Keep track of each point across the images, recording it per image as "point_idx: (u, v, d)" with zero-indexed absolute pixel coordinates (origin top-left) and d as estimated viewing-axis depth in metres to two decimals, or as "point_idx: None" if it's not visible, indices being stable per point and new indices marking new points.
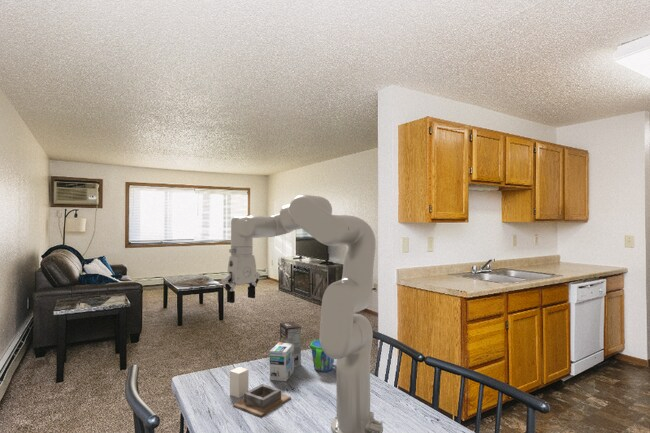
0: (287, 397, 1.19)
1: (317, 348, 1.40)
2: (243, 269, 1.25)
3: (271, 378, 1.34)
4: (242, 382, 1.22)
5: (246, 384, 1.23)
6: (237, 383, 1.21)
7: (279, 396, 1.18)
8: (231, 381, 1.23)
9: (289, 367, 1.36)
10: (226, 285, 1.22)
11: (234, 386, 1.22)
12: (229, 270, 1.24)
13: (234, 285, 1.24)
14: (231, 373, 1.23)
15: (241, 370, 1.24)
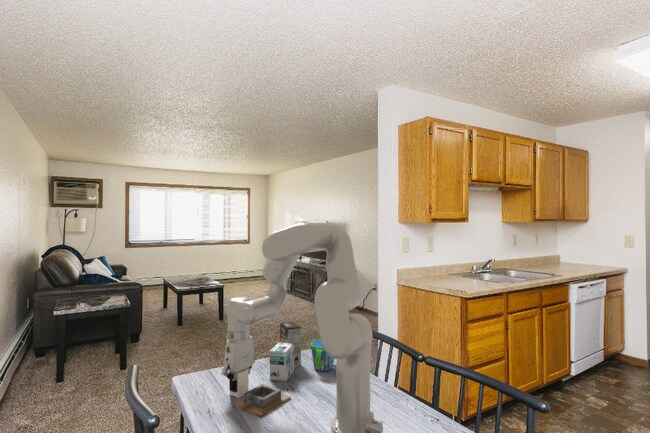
0: (287, 397, 1.19)
1: (317, 348, 1.40)
2: (241, 355, 1.21)
3: (271, 378, 1.34)
4: (242, 382, 1.22)
5: (246, 384, 1.23)
6: (237, 383, 1.21)
7: (279, 396, 1.18)
8: None
9: (289, 367, 1.36)
10: (228, 376, 1.19)
11: None
12: (226, 356, 1.20)
13: (235, 373, 1.21)
14: None
15: (241, 370, 1.24)
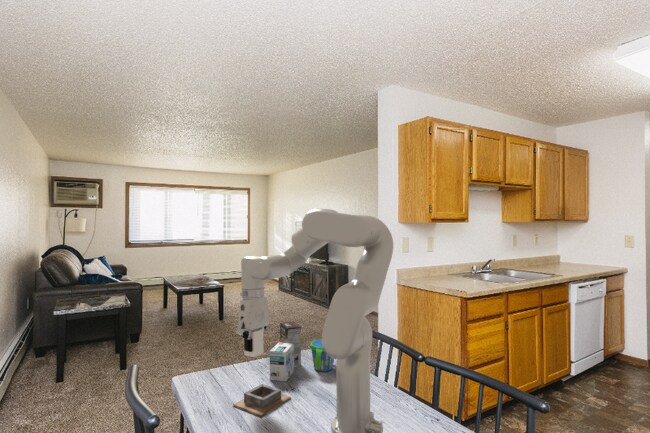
0: (287, 397, 1.19)
1: (317, 348, 1.40)
2: (255, 313, 1.18)
3: (271, 378, 1.34)
4: (257, 341, 1.19)
5: (261, 344, 1.20)
6: (252, 342, 1.17)
7: (279, 396, 1.18)
8: None
9: (289, 367, 1.36)
10: (243, 334, 1.16)
11: None
12: (241, 314, 1.17)
13: (250, 332, 1.17)
14: None
15: (256, 329, 1.20)
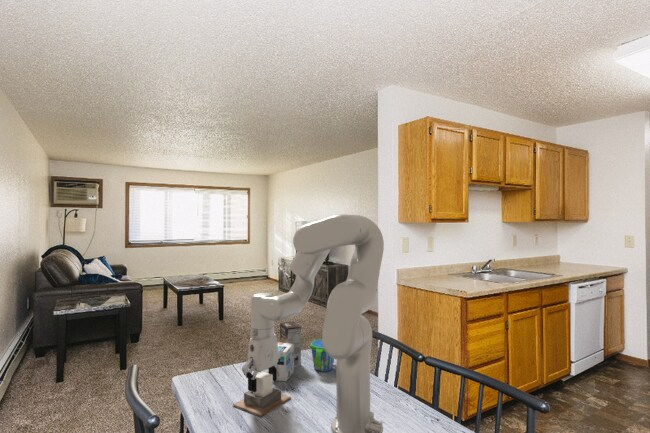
0: (287, 397, 1.19)
1: (317, 348, 1.40)
2: (265, 353, 1.15)
3: None
4: (266, 388, 1.16)
5: (270, 390, 1.17)
6: (261, 389, 1.15)
7: (279, 396, 1.18)
8: None
9: (289, 367, 1.36)
10: (247, 374, 1.11)
11: (258, 392, 1.16)
12: (250, 355, 1.14)
13: (256, 372, 1.13)
14: (255, 378, 1.17)
15: (265, 375, 1.17)
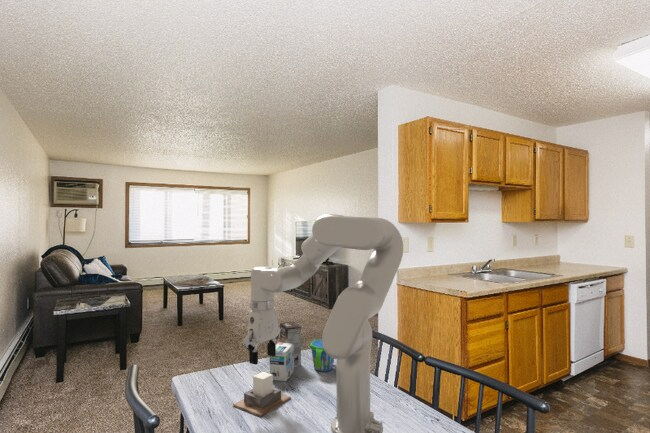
0: (287, 397, 1.19)
1: (317, 348, 1.40)
2: (265, 325, 1.15)
3: None
4: (266, 388, 1.16)
5: (270, 390, 1.17)
6: (261, 389, 1.15)
7: (279, 396, 1.18)
8: (255, 387, 1.16)
9: (289, 367, 1.36)
10: (249, 346, 1.12)
11: (258, 392, 1.16)
12: (250, 327, 1.14)
13: (257, 344, 1.14)
14: (255, 378, 1.17)
15: (265, 375, 1.17)
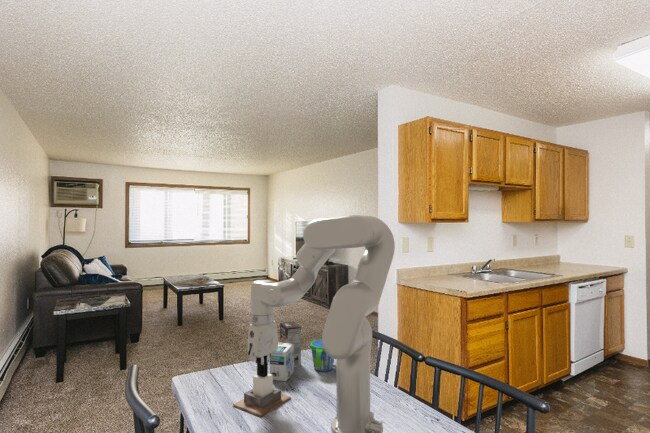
0: (287, 397, 1.19)
1: (317, 348, 1.40)
2: (265, 339, 1.15)
3: None
4: (266, 388, 1.16)
5: (270, 390, 1.17)
6: (261, 389, 1.15)
7: (279, 396, 1.18)
8: (255, 387, 1.16)
9: (289, 367, 1.36)
10: (257, 360, 1.15)
11: (258, 392, 1.16)
12: (250, 341, 1.14)
13: (262, 358, 1.16)
14: (255, 378, 1.17)
15: None
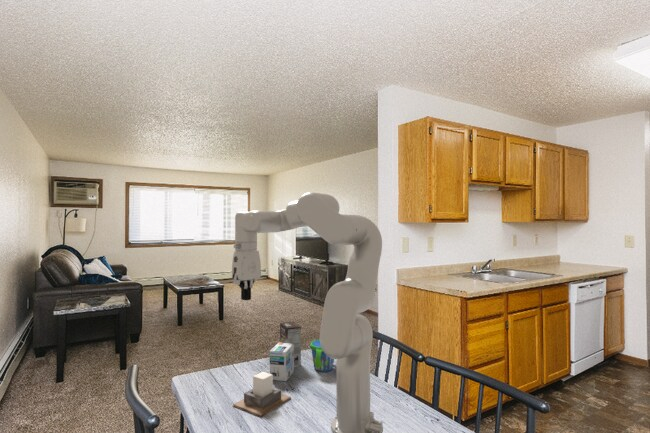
0: (287, 397, 1.19)
1: (317, 348, 1.40)
2: (248, 265, 1.24)
3: None
4: (266, 388, 1.16)
5: (270, 390, 1.17)
6: (261, 389, 1.15)
7: (279, 396, 1.18)
8: (255, 387, 1.16)
9: (289, 367, 1.36)
10: (241, 284, 1.24)
11: (258, 392, 1.16)
12: (234, 265, 1.23)
13: (245, 282, 1.25)
14: (255, 378, 1.17)
15: (265, 375, 1.17)
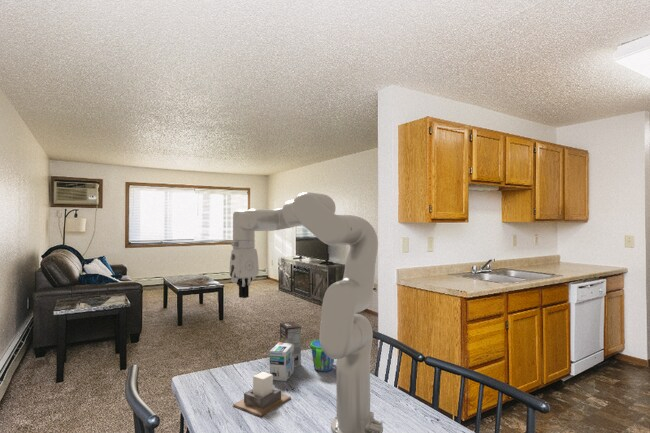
0: (287, 397, 1.19)
1: (317, 348, 1.40)
2: (245, 262, 1.25)
3: None
4: (266, 388, 1.16)
5: (270, 390, 1.17)
6: (261, 389, 1.15)
7: (279, 396, 1.18)
8: (255, 387, 1.16)
9: (289, 367, 1.36)
10: (238, 281, 1.25)
11: (258, 392, 1.16)
12: (232, 263, 1.24)
13: (243, 280, 1.26)
14: (255, 378, 1.17)
15: (265, 375, 1.17)
